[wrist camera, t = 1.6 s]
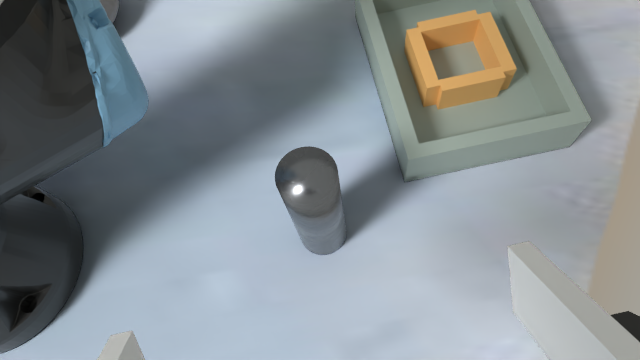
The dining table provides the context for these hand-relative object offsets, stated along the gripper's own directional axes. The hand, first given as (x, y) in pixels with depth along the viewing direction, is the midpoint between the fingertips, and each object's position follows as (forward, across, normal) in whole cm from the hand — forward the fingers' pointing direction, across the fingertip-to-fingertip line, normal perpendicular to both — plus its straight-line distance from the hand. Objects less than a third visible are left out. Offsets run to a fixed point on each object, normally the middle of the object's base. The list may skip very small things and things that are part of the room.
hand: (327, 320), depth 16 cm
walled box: (+32, +16, +1) cm, 35 cm away
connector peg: (+23, 0, -8) cm, 24 cm away
